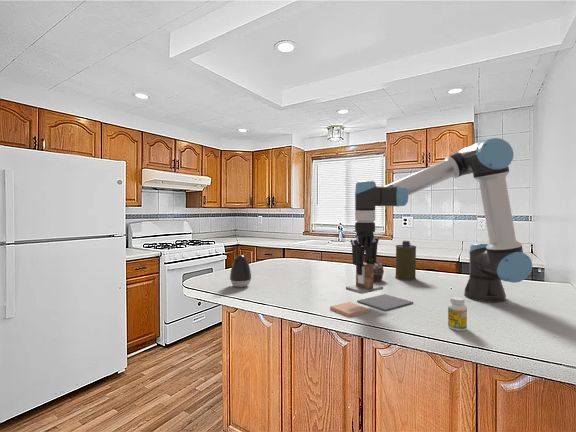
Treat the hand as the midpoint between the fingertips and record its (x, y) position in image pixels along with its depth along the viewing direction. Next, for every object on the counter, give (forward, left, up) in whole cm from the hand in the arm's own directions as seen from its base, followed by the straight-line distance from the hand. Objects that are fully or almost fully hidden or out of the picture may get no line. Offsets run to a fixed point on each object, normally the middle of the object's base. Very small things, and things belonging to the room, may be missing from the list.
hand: (364, 282), depth 127 cm
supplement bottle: (-32, -8, -10) cm, 34 cm away
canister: (+22, -56, -10) cm, 61 cm away
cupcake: (+28, -38, -10) cm, 48 cm away
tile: (0, +3, -9) cm, 10 cm away
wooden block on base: (0, 0, -3) cm, 3 cm away
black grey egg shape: (+56, +25, -10) cm, 62 cm away
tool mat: (-1, -11, -9) cm, 15 cm away
